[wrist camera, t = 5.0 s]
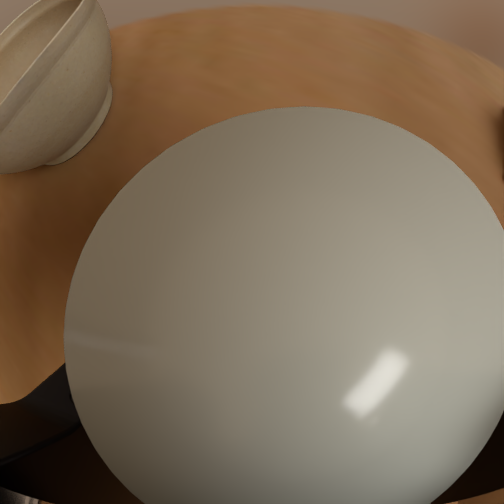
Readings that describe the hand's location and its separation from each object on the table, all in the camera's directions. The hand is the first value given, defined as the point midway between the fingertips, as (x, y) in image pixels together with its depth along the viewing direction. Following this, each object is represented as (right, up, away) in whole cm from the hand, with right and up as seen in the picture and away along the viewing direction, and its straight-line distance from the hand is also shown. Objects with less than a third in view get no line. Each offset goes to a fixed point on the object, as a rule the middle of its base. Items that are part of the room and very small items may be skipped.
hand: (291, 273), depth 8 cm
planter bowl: (-18, +13, +12) cm, 25 cm away
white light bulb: (+1, -2, +6) cm, 7 cm away
